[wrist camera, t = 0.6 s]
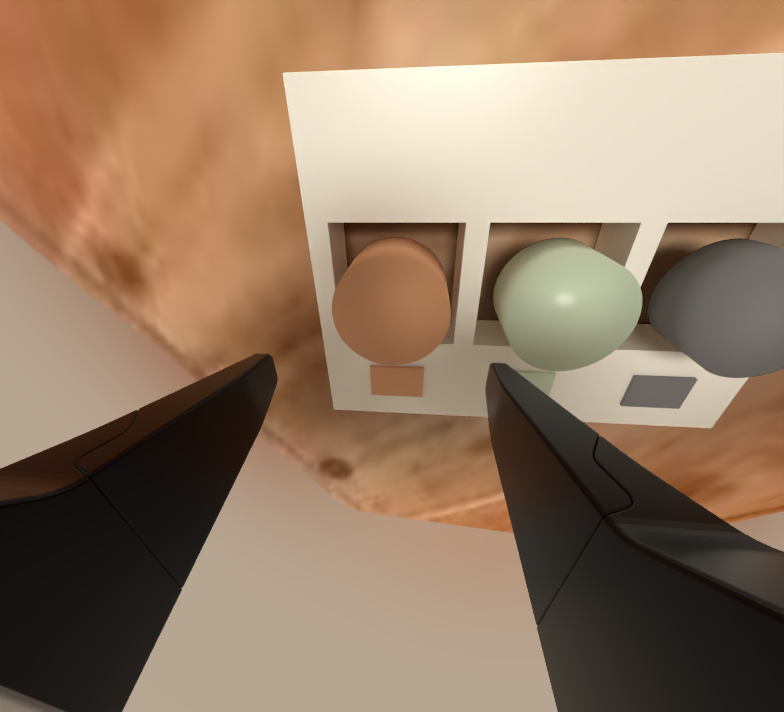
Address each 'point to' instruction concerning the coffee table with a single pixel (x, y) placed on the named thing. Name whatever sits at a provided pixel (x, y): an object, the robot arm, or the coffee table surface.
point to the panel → (538, 203)
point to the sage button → (565, 304)
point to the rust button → (392, 302)
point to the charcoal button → (725, 307)
